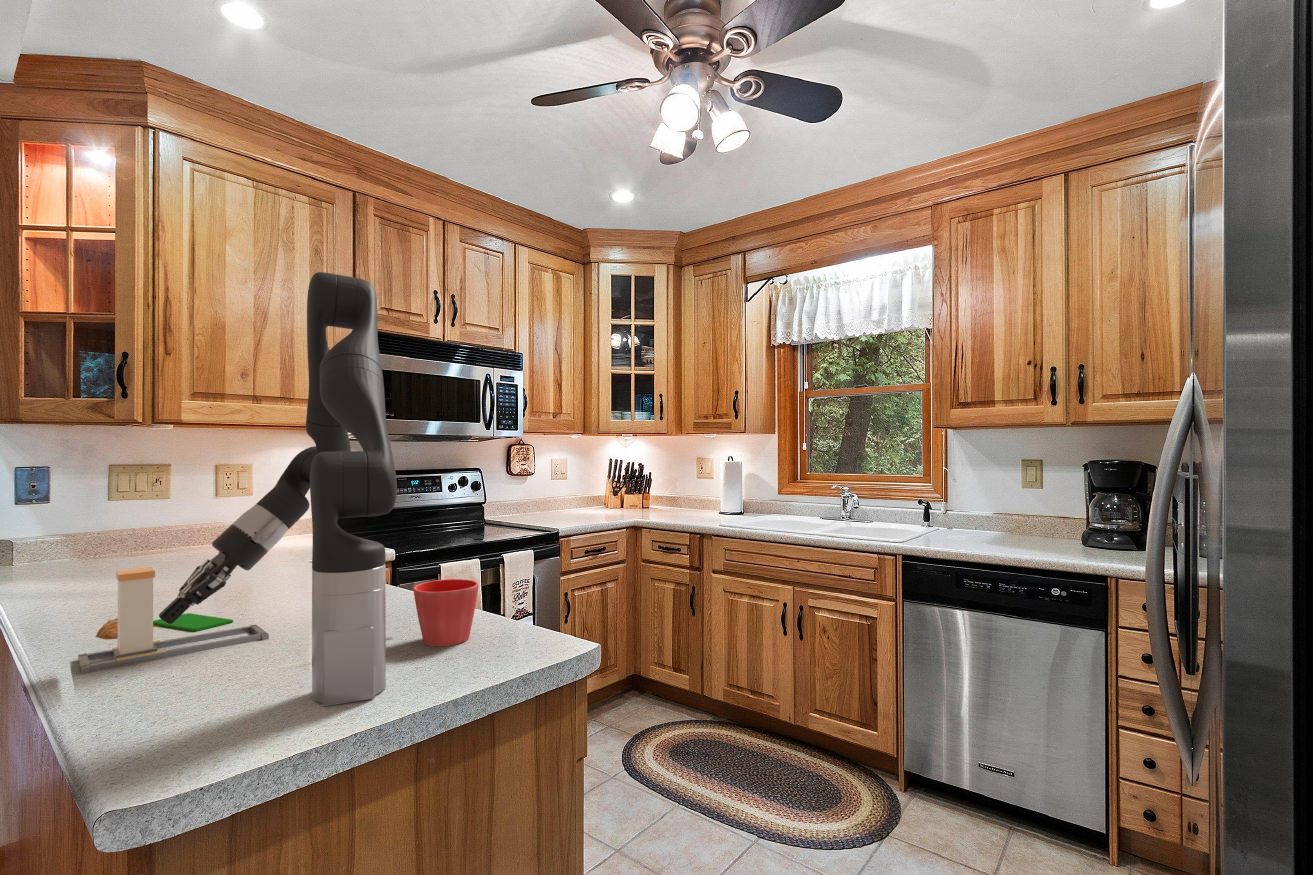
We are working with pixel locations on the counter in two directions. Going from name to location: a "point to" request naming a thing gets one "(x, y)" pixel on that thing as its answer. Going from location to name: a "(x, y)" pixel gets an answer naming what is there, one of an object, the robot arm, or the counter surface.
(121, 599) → the fader
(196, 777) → the counter surface
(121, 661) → the track
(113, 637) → the pastry
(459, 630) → the flower pot
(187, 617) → the dish sponge
